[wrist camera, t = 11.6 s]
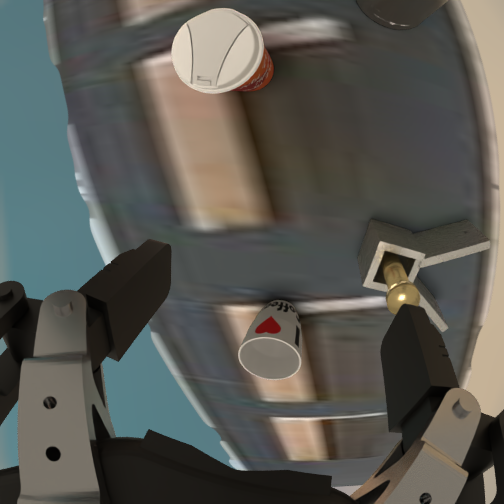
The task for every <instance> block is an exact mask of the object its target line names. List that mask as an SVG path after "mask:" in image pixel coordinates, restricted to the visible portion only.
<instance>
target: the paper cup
mask: <svg viewBox="0 0 504 504" xmlns="http://www.w3.org/2000/svg"><path fill="white" fill-rule="evenodd" d="M171 53H172V62H173V65H174V67H175V70H176V72H177V74H178V76H179V77H180V79H181V80H182V81H183V82H184V83H185V84H187V85H188V86H189V87H191V88H193V89H194V90H197V91H200V92H204V93H223V92H227V91H256V90H259V89H261V88H263V87H265V86H266V85H267V84H268V83H269V82H270V80H271V79H272V76H273V72H274V66H273V62H272V60H271V57H270V55H269V53H268V52H267V50H266V48H265V46H264V42H263V38H262V34H261V32H260V30H259V28H258V27H257V25H256V24H255V23H254V22H253V21H252V20H251V19H250V18H248V17H247V16H245V15H244V14H241V13H239V12H237V11H235V10H233V9H228V8H218V9H212V10H210V11H207V12H205V13H202V14H200V15H198V16H196V17H194V18H192V19H191V20H189V21H188V22H186V23H185V24H184V25H183V26H182V27H181V28H180V30H179V31H178V33H177V34H176V36H175V39H174V41H173V45H172V51H171Z"/></svg>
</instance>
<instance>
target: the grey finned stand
mask: <svg viewBox="0 0 504 504" xmlns="http://www.w3.org/2000/svg"><path fill="white" fill-rule="evenodd" d="M489 248H490V240H489V239H488V238H487V237H486V236H485V235H484V234H483V233H481V232H480V231H479V230H478V229H477V228H476V227H475V226H474V225H473V224H472V223H471V222H469V221H468V220H463V221H460V222H456V223H452V224H448V225H444V226H440V227H437V228H433V229H429V230H425V231H421V232H417V233H413V234H412V232H411V231H410V230H408V229H404V228H401V227H398V226H394V225H391V224H388V223H384V222H381V221H377V220H374V219H370V222H369V225H368V228H367V231H366V234H365V237H364V240H363V243H362V246H361V249H360V252H359V255H358V257H357V259H358V264H359V269H360V274H361V280H362V285H363V286H364V287H368V288H372V289H376V290H380V291H384V292H387V291H388V287H387V284H386V280H385V277H384V274H383V270H382V267H381V264H380V262H381V259H382V257H383V254H384V251H388V252H392V253H396V254H398V256H399V259H400V261H401V263H402V265H403V268H404V270H405V272H406V275H407V277H408V280H409V281H410V282H412V283H414V284H415V285H416V287H417V289H418V291H419V293H420V303H419V305H420V306H421V307H423V308H424V309H425V310H426V313H427V314H428V315H429V317H430V318H431V319H432V320H433V321H434V322H435V324H436V325H437V326H438V327H439V329H440V330H441V331H442V332H444V331H445V330H446V329H448V326H447V324H446V321H445V319H444V317H443V315H442V312H441V310H440V308H439V306H438V304H437V302H436V299H435V298H434V297H433V295H432V294H431V293H430V292H429V290H428V289H427V288H426V287H425V285H424V284H423V283H422V282H421V281H420V279H419V278H418V277H417V276H416V275H417V273H418V271H419V268H422V267H425V266H429V265H433V264H437V263H440V262H444V261H448V260H451V259H455V258H458V257H462V256H465V255H469V254H472V253H476V252H479V251H482V250H486V249H489Z"/></svg>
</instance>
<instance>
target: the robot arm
mask: <svg viewBox="0 0 504 504" xmlns="http://www.w3.org/2000/svg"><path fill="white" fill-rule="evenodd" d="M447 1H448V0H356V2H357V4H358V5H359V7H360V8H361V10H362V11H363V12H364V13H365V14H366V15H367V16H368V17H369V18H371V19H372V20H373V21H375V22H377V23H378V24H380V25H383V26H385V27H387V28H391V29H396V30H406V29H411V28H414V27H416V26H417V25H419V24H420V23H421V22H423V21H424V20H425V19H426V18H427V17H429V16H430V15H431V14H432V13H434V12H435V11H436V10H437V9H438V8H440V7H441V6H442V5H443V4H445V3H446V2H447ZM170 285H171V246H170V245H169V244H167V243H163V242H159V241H155V240H152V239H149V240H147V241H146V242H144V243H143V244H142V245H141V246H140V247H138V248H137V249H136V250H135V249H132V250H129V251H127V252H124V253H122V254H120V255H118V256H117V257H116V258H115V259H114V260H112V261H111V263H109V264H108V265H106V266H105V267H104V269H103V270H101V271H99V272H98V273H97V274H96V275H95V276H94V277H92V278H91V279H90V280H89V281H88V282H87V283H85V284H84V285H83V286H82V287H81V288H80V289H79V290H78V291H73V290H61V291H57V292H54V293H52V294H51V295H49V296H47V297H46V298H45V299H44V301H43V300H37V299H31V298H27V297H26V294H25V290H24V287H23V285H22V284H21V283H19V282H16V281H7V282H3V283H1V284H0V339H1V338H2V337H3V339H4V341H5V343H6V345H7V347H8V348H7V349H6V350H5V351H4V352H3V353H2V355H0V425H1V424H2V422H3V421H4V420H5V418H6V417H7V415H8V414H9V412H10V411H11V409H12V408H13V407H14V405H15V404H16V402H17V401H18V457H19V466H15V467H11V468H7V469H2V470H0V504H485V491H484V479H483V473H484V472H485V471H486V470H488V469H489V468H491V467H492V466H493V465H494V468H495V477H496V486H497V493H496V496H495V498H494V500H493V501H492V502H491V503H490V504H504V410H503V411H502V412H501V413H500V414H499V415H498V416H497V417H496V418H494V417H492V416H489V415H486V414H484V413H481V409H480V406H479V403H478V402H477V400H476V398H475V397H474V396H473V395H472V394H471V393H470V392H468V391H466V390H464V389H461V388H459V385H458V382H457V378H456V375H455V372H454V369H453V366H452V363H451V360H450V358H448V356H449V355H448V352H447V349H446V348H445V344H444V341H443V338H442V336H441V334H440V333H439V332H438V330H437V329H436V328H435V327H434V325H433V324H431V323H430V321H429V318H428V315H427V313H426V310H425V309H424V308H423V307H419V306H414V305H410V304H406V303H404V304H403V305H402V306H401V307H400V308H399V310H398V312H397V314H396V316H395V318H394V320H393V322H392V324H391V325H390V327H389V329H388V331H387V333H386V335H385V336H384V339H383V341H382V345H381V361H382V368H383V376H384V384H385V393H386V403H387V414H388V426H389V432H396V433H402V439H401V440H400V441H399V442H398V443H397V444H396V445H395V447H394V448H393V449H392V451H391V452H390V453H389V455H388V456H387V457H386V459H385V460H384V461H383V462H382V464H381V465H380V466H379V467H378V469H377V470H376V471H375V472H374V473H373V475H372V476H371V477H370V478H369V479H368V480H367V481H366V482H365V483H364V484H363V485H362V486H361V487H360V488H359V489H358V490H356V491H355V492H354V493H353V494H352V495H351V496H348V495H347V494H345V493H343V492H341V491H339V490H337V489H335V488H332V487H331V480H332V476H327V475H318V474H310V473H303V472H297V471H291V470H275V471H241V470H235V469H233V468H230V467H229V466H227V465H225V464H223V463H221V462H219V461H218V460H216V459H214V458H212V457H210V456H209V455H207V454H205V453H203V452H202V451H200V450H198V449H197V448H195V447H193V446H192V445H189V444H186V443H183V442H180V441H178V440H175V439H172V438H169V437H167V436H164V435H162V434H159V433H157V432H154V431H152V430H150V429H149V430H148V431H147V433H146V435H145V437H144V439H142V438H134V437H116V435H115V431H114V428H113V425H112V422H111V419H110V414H109V409H108V403H107V396H106V389H105V382H104V374H103V366H102V361H103V360H104V359H105V358H106V356H107V357H109V358H112V359H114V360H116V361H118V362H119V360H120V359H121V358H122V356H123V355H124V354H125V352H126V351H127V350H128V348H129V347H130V346H131V344H132V343H133V341H134V340H135V339H136V337H137V336H138V335H139V333H140V332H141V331H142V329H143V328H144V327H145V325H146V324H147V323H148V322H149V320H150V319H151V318H152V316H153V315H154V314H155V312H156V311H157V310H158V308H159V307H160V306H161V304H162V303H163V302H164V301H165V299H166V298H167V296H168V293H169V290H170ZM18 399H19V400H18Z"/></svg>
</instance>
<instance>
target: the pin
mask: <svg viewBox="0 0 504 504" xmlns="http://www.w3.org/2000/svg"><path fill="white" fill-rule="evenodd" d="M380 264H381V267H382V270H383V274H384V277H385V280H386V284H387V287H388V291H387V293H386V302H387V306H388V309H389V310H390V312H391V313H393V314H395V315H396V314H397V312H398V310H399V308H400V307H401V306H402V305H403V304H404V303H406V304H410V305H414V306H418V305H419V303H420V293H419V291H418V289H417V287H416V285H415V284H414V283H412V282H410V281H409V280H408V277H407V275H406V272H405V270H404V268H403V265H402V263H401V261H400V259H399V256H398V254H396V253H392V252H388V251H384V254H383V257H382V259H381V262H380Z"/></svg>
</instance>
